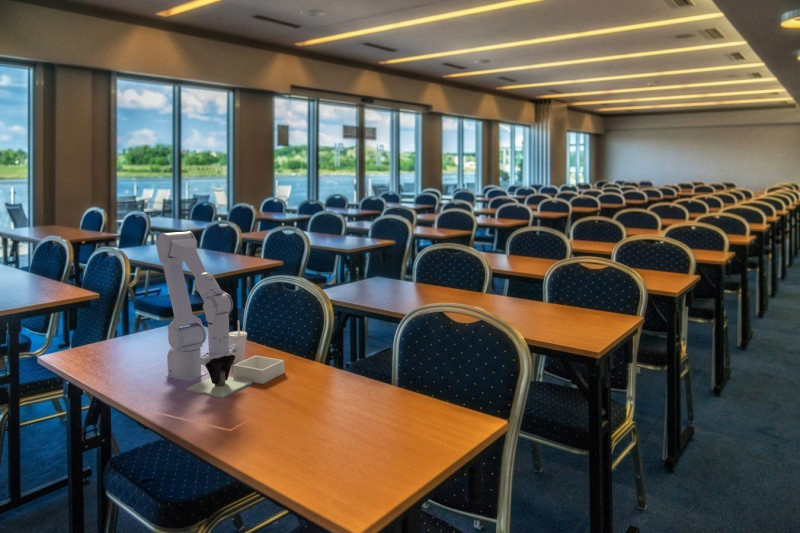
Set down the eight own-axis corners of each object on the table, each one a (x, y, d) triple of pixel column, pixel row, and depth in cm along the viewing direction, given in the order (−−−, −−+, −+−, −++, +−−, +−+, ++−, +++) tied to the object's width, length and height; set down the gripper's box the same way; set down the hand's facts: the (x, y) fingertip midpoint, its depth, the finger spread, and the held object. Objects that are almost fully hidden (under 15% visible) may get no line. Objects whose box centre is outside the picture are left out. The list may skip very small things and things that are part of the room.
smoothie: (242, 365, 193) (241, 323, 191) (224, 364, 195) (223, 322, 192) (251, 359, 199) (250, 319, 197) (233, 358, 201) (232, 317, 199)
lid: (186, 390, 170) (185, 374, 169) (217, 376, 182) (217, 361, 181) (222, 397, 165) (222, 381, 164) (252, 383, 176) (252, 368, 176)
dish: (232, 379, 181) (232, 365, 180) (255, 368, 190) (255, 355, 190) (262, 385, 176) (262, 370, 175) (284, 374, 186) (284, 360, 185)
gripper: (212, 344, 163) (213, 391, 165) (246, 332, 176) (247, 376, 178) (192, 340, 165) (193, 387, 168) (227, 329, 179) (228, 372, 181)
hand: (219, 381), depth 173 cm, fingers closed on lid, 3 cm apart
